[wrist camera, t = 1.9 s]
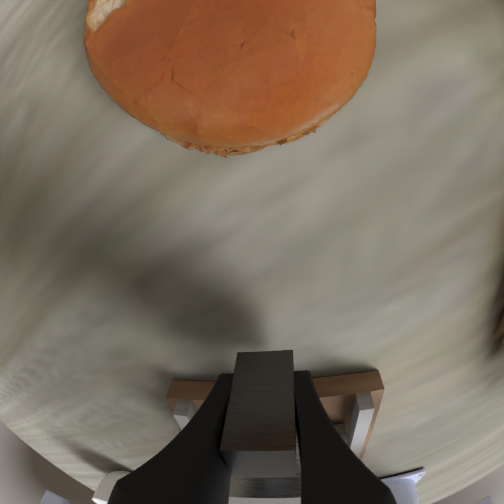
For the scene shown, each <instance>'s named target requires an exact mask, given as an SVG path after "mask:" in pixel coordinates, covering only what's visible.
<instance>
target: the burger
mask: <svg viewBox="0 0 504 504" xmlns="http://www.w3.org/2000/svg"><path fill="white" fill-rule="evenodd" d="M375 16H376V2H375V0H90V1H89V5H88V12H87V16H86V20H85V30H84V46H85V50H86V54H87V58H88V62H89V66H90V69H91V72H92V73H93V75H94V76H95V78H96V79H97V81H98V82H99V84H100V85H101V86H102V87H103V89H104V90H105V91H106V93H107V94H108V95H109V97H110V98H111V99H112V100H113V101H114V102H115V103H116V104H117V105H118V106H119V107H120V108H121V109H122V110H124V111H125V112H127V113H128V114H129V115H131V116H132V117H134V118H135V119H137V120H138V121H139V122H141V123H142V124H144V125H146V126H148V127H150V128H152V129H154V130H156V131H158V132H160V133H161V134H162V135H164V136H165V137H166V138H167V139H168V140H171V141H173V142H176V143H178V144H179V145H181V146H182V147H184V148H186V149H189V150H193V149H194V148H196V149H197V150H199V151H201V152H204V153H208V154H210V153H212V152H213V153H215V155H220V156H222V157H225V158H227V154H229V155H240V154H247V153H251V152H255V151H258V150H262V149H264V148H265V147H267V146H272V145H277V144H280V145H281V144H284V143H289V142H292V141H295V140H297V139H300V138H302V137H304V136H306V135H308V134H309V133H311V132H314V133H315V131H316V129H317V128H318V127H320V126H321V125H323V124H324V123H325V122H326V121H327V120H328V119H329V118H330V117H331V116H332V115H333V114H335V113H336V112H338V111H339V110H340V109H341V108H342V107H343V106H344V105H345V104H346V103H347V102H348V101H349V100H350V99H351V98H352V97H353V96H354V94H355V93H356V91H357V90H358V89H359V87H360V86H361V84H362V83H363V82H364V80H365V79H366V77H367V75H368V72H369V69H370V67H371V64H372V61H373V57H374V52H375V47H376V23H375V20H374V19H375Z"/></svg>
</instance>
